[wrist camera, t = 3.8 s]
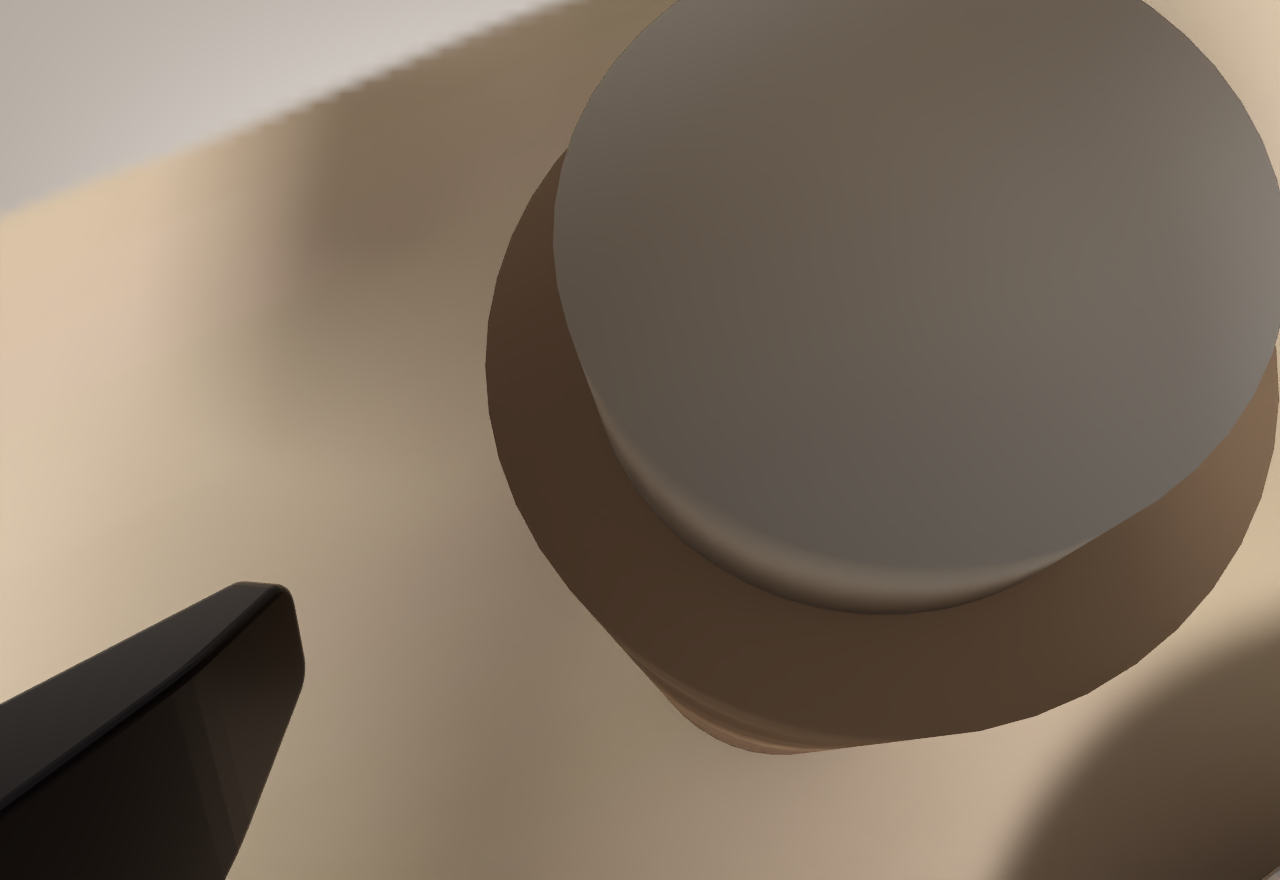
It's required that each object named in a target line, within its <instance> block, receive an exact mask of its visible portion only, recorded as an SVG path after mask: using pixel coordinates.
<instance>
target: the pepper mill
mask: <svg viewBox="0 0 1280 880" xmlns="http://www.w3.org/2000/svg"><path fill="white" fill-rule="evenodd" d="M1279 328H1280V191H1279V186H1278V181H1277V178H1276V176H1275V173H1274V170H1273V168H1272V165H1271V162H1270V160H1269V157H1268V154H1267V152H1266V149H1265V146H1264V144H1263V141H1262V139H1261V137H1260V135H1259V133H1258V131H1257V130H1256V128H1255V126H1254V124H1253V122H1252V120H1251V119H1250V117H1249V115H1248V113H1247V111H1246V109H1245V108H1244V106H1243V104H1242V102H1241V101H1240V99H1239V98H1238V97H1237V95H1236V94H1235V92H1234V91H1233V90H1232V88H1231V87H1230V86H1229V84H1228V83H1227V82H1226V80H1225V79H1224V77H1223V76H1222V75H1221V73H1220V72H1219V71H1218V69H1217V68H1216V67H1215V66H1214V64H1213V63H1212V62H1211V61H1210V60H1209V59H1208V58H1207V57H1206V56H1205V55H1204V54H1203V53H1202V52H1201V51H1200V50H1199V49H1198V48H1197V47H1196V46H1195V44H1194V43H1193V42H1192V41H1191V40H1190V39H1189V38H1188V37H1187V36H1186V35H1185V34H1184V33H1182V32H1181V31H1180V30H1179V29H1178V28H1176V27H1175V26H1174V25H1173V24H1172V23H1170V22H1169V21H1168V20H1167V19H1165V18H1164V17H1163V16H1162V15H1161V14H1159V13H1158V12H1157V11H1156V10H1155V9H1153V8H1152V7H1151V6H1149V5H1148V4H1146V3H1144V2H1143V1H1141V0H679V1H678V2H676V3H675V4H673V5H672V6H671V7H669V8H668V9H667V10H666V11H665V12H664V13H662V14H661V15H660V16H659V17H658V18H657V19H655V20H654V21H653V22H652V23H651V24H650V25H649V26H647V27H646V28H645V29H644V30H643V31H642V32H641V33H640V34H639V35H638V36H637V37H636V38H635V39H634V41H633V42H632V43H631V44H630V45H629V46H628V47H627V48H626V49H625V50H624V52H623V53H622V54H621V55H620V56H619V57H618V58H617V59H616V60H615V62H614V63H613V65H612V66H611V68H610V69H609V70H608V72H607V73H606V75H605V76H604V78H603V79H602V81H601V82H600V84H599V85H598V86H597V88H596V89H595V91H594V92H593V94H592V96H591V98H590V100H589V102H588V104H587V106H586V108H585V110H584V111H583V113H582V115H581V117H580V119H579V121H578V123H577V125H576V127H575V130H574V133H573V135H572V138H571V141H570V144H569V147H568V149H567V150H566V151H565V152H564V153H563V154H562V155H561V157H560V158H559V159H558V160H557V161H556V162H555V164H554V165H553V167H552V168H551V170H550V171H549V173H548V174H547V176H546V177H545V178H544V180H543V181H542V183H541V184H540V186H539V187H538V189H537V190H536V192H535V193H534V194H533V196H532V198H531V199H530V201H529V203H528V205H527V207H526V209H525V211H524V213H523V215H522V217H521V219H520V221H519V223H518V225H517V227H516V229H515V231H514V233H513V235H512V237H511V240H510V243H509V246H508V248H507V251H506V254H505V257H504V260H503V263H502V265H501V268H500V271H499V274H498V277H497V281H496V286H495V291H494V296H493V301H492V306H491V311H490V315H489V320H488V334H487V350H486V365H485V367H486V380H487V394H488V407H489V415H490V420H491V424H492V429H493V433H494V438H495V442H496V447H497V452H498V456H499V460H500V463H501V465H502V468H503V471H504V473H505V476H506V479H507V481H508V484H509V487H510V490H511V492H512V495H513V498H514V500H515V503H516V505H517V507H518V509H519V511H520V513H521V515H522V516H523V518H524V520H525V522H526V524H527V526H528V528H529V529H530V531H531V533H532V535H533V537H534V539H535V541H536V542H537V544H538V546H539V548H540V550H541V551H542V552H543V554H544V555H545V556H546V558H547V559H548V560H549V562H550V563H551V565H552V566H553V567H554V569H555V570H556V571H557V573H558V574H559V576H560V577H561V578H562V580H563V581H564V582H565V584H566V585H567V587H568V588H569V589H570V591H571V592H572V593H573V594H574V595H575V596H576V597H577V598H578V599H579V601H580V602H581V603H582V604H583V605H584V606H585V607H586V608H587V609H588V611H589V612H590V613H591V614H592V615H593V616H594V617H595V618H596V620H597V621H598V622H599V623H600V624H601V625H602V626H603V627H604V628H605V630H606V631H607V632H608V633H609V634H610V635H611V636H612V637H613V638H614V640H615V641H616V642H617V643H618V644H619V645H620V646H621V647H622V648H623V650H624V651H625V652H626V653H627V654H628V655H629V656H630V657H631V658H632V660H633V661H634V662H635V663H636V664H637V665H638V666H639V667H640V669H641V670H642V671H643V672H644V673H645V674H646V675H647V676H648V677H649V679H650V680H651V681H652V682H653V683H654V684H655V685H656V686H657V687H658V689H659V690H660V691H661V692H662V693H663V694H664V695H665V696H666V697H667V699H668V700H669V701H670V702H671V703H672V704H673V705H674V706H675V707H676V708H677V709H678V710H679V711H680V712H681V713H682V715H683V716H684V717H686V718H687V719H688V720H689V721H691V722H692V723H693V724H694V725H696V726H697V727H698V728H699V729H701V730H703V731H704V732H706V733H708V734H709V735H711V736H713V737H714V738H716V739H718V740H720V741H723V742H725V743H727V744H730V745H732V746H734V747H738V748H741V749H745V750H748V751H752V752H758V753H765V754H780V755H791V754H799V753H807V752H815V751H823V750H832V749H840V748H848V747H856V746H864V745H872V744H880V743H888V742H896V741H904V740H912V739H920V738H928V737H936V736H944V735H952V734H960V733H968V732H976V731H982V730H985V729H989V728H993V727H997V726H1000V725H1004V724H1008V723H1011V722H1015V721H1019V720H1022V719H1026V718H1030V717H1034V716H1037V715H1039V714H1041V713H1044V712H1046V711H1048V710H1051V709H1053V708H1055V707H1058V706H1060V705H1062V704H1065V703H1067V702H1069V701H1072V700H1074V699H1076V698H1079V697H1081V696H1083V695H1086V694H1088V693H1090V692H1091V691H1093V690H1094V689H1096V688H1098V687H1099V686H1101V685H1103V684H1104V683H1106V682H1108V681H1109V680H1111V679H1112V678H1114V677H1116V676H1117V675H1119V674H1121V673H1122V672H1124V671H1125V670H1127V669H1129V668H1130V667H1132V666H1134V665H1135V664H1137V663H1138V662H1139V661H1140V660H1141V659H1142V658H1144V657H1145V656H1146V655H1147V654H1148V653H1150V652H1151V651H1152V650H1153V649H1154V648H1156V647H1157V646H1158V645H1159V644H1160V643H1162V642H1163V641H1164V640H1165V639H1166V638H1167V637H1169V636H1170V635H1171V634H1172V633H1173V632H1175V631H1176V630H1177V629H1178V628H1179V627H1180V626H1181V624H1182V623H1183V622H1184V621H1185V620H1186V619H1187V618H1188V617H1189V615H1190V614H1191V613H1192V612H1193V611H1194V610H1195V609H1196V607H1197V606H1198V605H1199V604H1200V603H1201V602H1202V601H1203V599H1204V598H1205V597H1206V596H1207V595H1208V594H1209V593H1210V591H1211V590H1212V589H1213V588H1214V586H1215V585H1216V583H1217V581H1218V580H1219V578H1220V577H1221V575H1222V574H1223V572H1224V570H1225V569H1226V567H1227V566H1228V564H1229V562H1230V561H1231V559H1232V558H1233V556H1234V555H1235V553H1236V551H1237V550H1238V548H1239V547H1240V545H1241V543H1242V541H1243V538H1244V536H1245V534H1246V532H1247V529H1248V527H1249V525H1250V522H1251V520H1252V518H1253V515H1254V513H1255V511H1256V509H1257V506H1258V504H1259V502H1260V499H1261V497H1262V493H1263V489H1264V485H1265V481H1266V477H1267V473H1268V470H1269V466H1270V462H1271V458H1272V454H1273V450H1274V443H1275V433H1276V423H1277V413H1278V403H1279V393H1278V373H1277V354H1276V346H1275V343H1276V339H1277V336H1278V332H1279Z"/></svg>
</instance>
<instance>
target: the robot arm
mask: <svg viewBox="0 0 1280 880" xmlns="http://www.w3.org/2000/svg"><path fill="white" fill-rule="evenodd" d="M304 676H305V658H304V653H303V647H302V642H301V637H300V632H299V626H298V621H297V616H296V610H295V605H294V601H293V598H292V595H291V593H290V591H289V590H288V589H287V588H286V587H284V586H282V585H280V584H270V583H258V582H237V583H234V584H232V585H230V586H228V587H226V588H224V589H222V590H220V591H219V592H217V593H215V594H213V595H211V596H209V597H207V598H205V599H203V600H201V601H199V602H197V603H195V604H193V605H191V606H189V607H188V608H186V609H184V610H182V611H180V612H178V613H176V614H174V615H172V616H170V617H168V618H166V619H164V620H162V621H160V622H158V623H157V624H155V625H153V626H151V627H149V628H147V629H145V630H143V631H141V632H139V633H137V634H135V635H133V636H131V637H129V638H127V639H125V640H124V641H122V642H120V643H118V644H116V645H114V646H112V647H110V648H108V649H106V650H104V651H102V652H100V653H98V654H96V655H94V656H93V657H91V658H89V659H87V660H85V661H83V662H81V663H79V664H77V665H75V666H73V667H71V668H69V669H67V670H65V671H63V672H62V673H60V674H58V675H56V676H54V677H52V678H50V679H48V680H46V681H44V682H42V683H40V684H38V685H36V686H34V687H32V688H31V689H29V690H27V691H25V692H23V693H21V694H19V695H17V696H15V697H13V698H11V699H9V700H7V701H5V702H3V703H1V704H0V880H225V879H226V877H227V875H228V872H229V870H230V868H231V866H232V864H233V862H234V860H235V858H236V856H237V854H238V852H239V849H240V847H241V844H242V842H243V840H244V837H245V835H246V832H247V830H248V828H249V825H250V823H251V820H252V817H253V815H254V812H255V810H256V807H257V804H258V802H259V799H260V797H261V794H262V791H263V789H264V786H265V784H266V781H267V778H268V776H269V773H270V771H271V768H272V765H273V763H274V760H275V758H276V755H277V752H278V750H279V747H280V745H281V742H282V739H283V737H284V734H285V732H286V729H287V726H288V724H289V721H290V719H291V716H292V713H293V711H294V708H295V706H296V703H297V700H298V698H299V695H300V693H301V690H302V686H303V682H304Z"/></svg>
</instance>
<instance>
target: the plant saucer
mask: <svg viewBox="0 0 1280 880" xmlns="http://www.w3.org/2000/svg"><path fill="white" fill-rule="evenodd" d="M1261 880H1280V865H1279V866H1278V867H1277V868H1276V869H1274V870H1273V871H1272V872H1270V873H1269V874H1268V875H1267V876H1265V877H1264V878H1263V879H1261Z"/></svg>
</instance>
